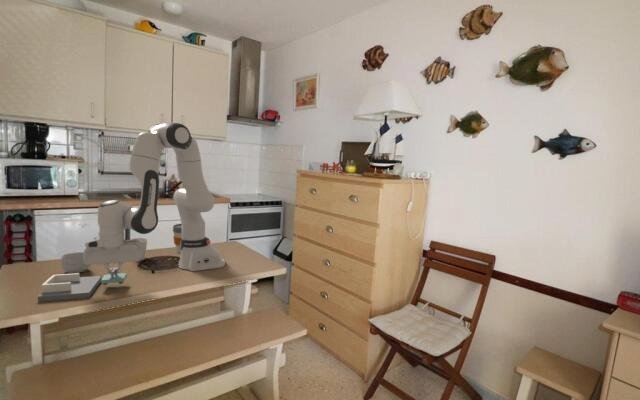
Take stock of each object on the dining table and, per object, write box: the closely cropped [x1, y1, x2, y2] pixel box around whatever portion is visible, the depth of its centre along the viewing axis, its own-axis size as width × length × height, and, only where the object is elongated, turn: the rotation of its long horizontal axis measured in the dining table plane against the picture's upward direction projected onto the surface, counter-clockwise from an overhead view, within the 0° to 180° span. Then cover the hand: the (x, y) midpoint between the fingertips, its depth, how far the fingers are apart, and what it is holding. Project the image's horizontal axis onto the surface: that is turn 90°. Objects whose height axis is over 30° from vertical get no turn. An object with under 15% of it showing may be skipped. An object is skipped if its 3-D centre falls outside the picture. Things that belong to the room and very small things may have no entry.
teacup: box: [61, 251, 91, 274], centre depth 153 cm, size 14×11×8 cm
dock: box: [37, 272, 103, 303], centre depth 134 cm, size 16×18×5 cm
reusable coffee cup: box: [172, 223, 182, 255], centre depth 191 cm, size 13×13×15 cm
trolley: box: [100, 266, 128, 286], centre depth 139 cm, size 8×6×6 cm
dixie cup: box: [130, 237, 148, 261], centre depth 175 cm, size 8×8×10 cm
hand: (113, 272), depth 139 cm, fingers closed on trolley
